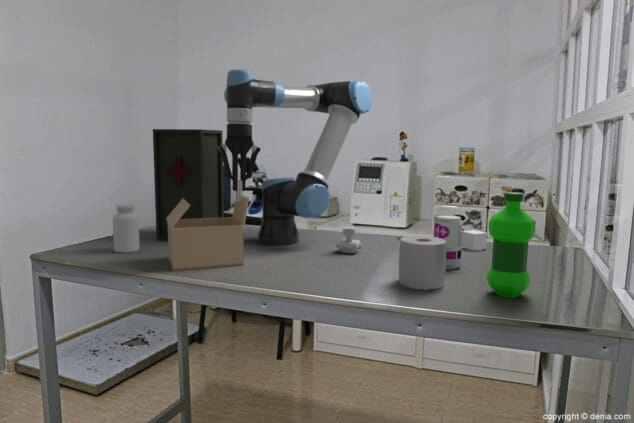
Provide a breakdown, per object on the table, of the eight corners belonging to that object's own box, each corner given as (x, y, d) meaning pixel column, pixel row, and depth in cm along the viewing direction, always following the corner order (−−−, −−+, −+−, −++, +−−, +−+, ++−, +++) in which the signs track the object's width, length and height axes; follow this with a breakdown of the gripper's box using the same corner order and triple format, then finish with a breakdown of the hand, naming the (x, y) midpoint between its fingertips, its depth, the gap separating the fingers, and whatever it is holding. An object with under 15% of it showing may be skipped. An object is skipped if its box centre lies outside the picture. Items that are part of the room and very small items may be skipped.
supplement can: (445, 271, 145) (447, 219, 142) (426, 264, 152) (428, 215, 150) (466, 268, 148) (469, 218, 146) (447, 261, 156) (449, 214, 153)
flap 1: (184, 199, 155) (182, 198, 154) (190, 205, 141) (188, 204, 141) (167, 219, 154) (166, 218, 153) (172, 228, 140) (170, 226, 140)
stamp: (364, 251, 169) (364, 226, 168) (360, 255, 163) (361, 230, 161) (337, 249, 171) (338, 225, 170) (333, 253, 165) (334, 228, 164)
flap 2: (232, 217, 161) (234, 217, 161) (242, 224, 147) (244, 224, 147) (236, 192, 160) (238, 192, 160) (247, 197, 146) (249, 198, 147)
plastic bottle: (476, 289, 127) (482, 191, 124) (513, 287, 129) (520, 190, 126) (499, 301, 117) (506, 195, 114) (539, 299, 120) (547, 195, 116)
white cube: (473, 246, 179) (474, 230, 178) (486, 249, 174) (487, 232, 173) (460, 248, 176) (461, 231, 176) (473, 251, 171) (474, 234, 170)
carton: (232, 253, 163) (232, 217, 161) (243, 265, 148) (243, 225, 147) (168, 258, 156) (167, 219, 154) (173, 270, 141) (172, 228, 139)
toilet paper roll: (396, 276, 138) (398, 235, 137) (441, 278, 137) (443, 236, 136) (399, 289, 127) (401, 244, 125) (448, 291, 125) (450, 245, 124)
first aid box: (224, 233, 197) (222, 130, 191) (203, 242, 179) (200, 129, 174) (181, 231, 201) (178, 130, 196) (156, 239, 183) (152, 129, 178)
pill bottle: (131, 253, 161) (129, 207, 159) (108, 252, 162) (106, 206, 160) (144, 248, 169) (142, 204, 166) (123, 247, 170) (121, 203, 168)
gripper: (220, 122, 144) (219, 203, 147) (263, 123, 149) (262, 202, 152) (215, 122, 151) (215, 200, 154) (257, 124, 156) (256, 199, 159)
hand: (238, 201), depth 153 cm, fingers closed
